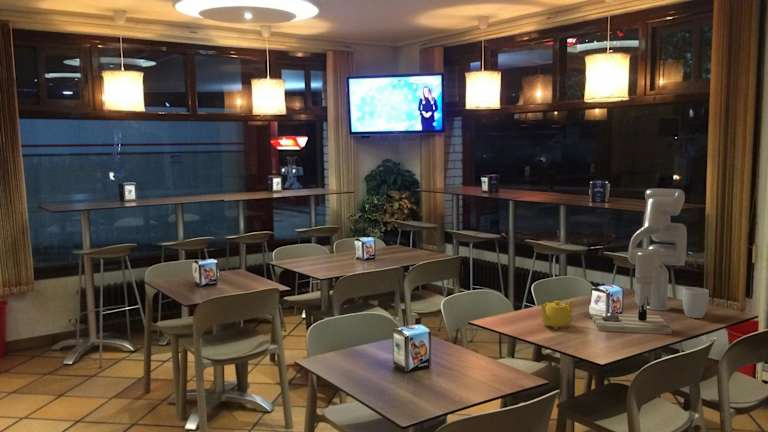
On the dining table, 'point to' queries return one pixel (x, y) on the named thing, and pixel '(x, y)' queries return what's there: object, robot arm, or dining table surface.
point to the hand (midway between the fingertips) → (642, 320)
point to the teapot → (557, 314)
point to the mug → (695, 301)
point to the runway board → (632, 324)
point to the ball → (611, 317)
